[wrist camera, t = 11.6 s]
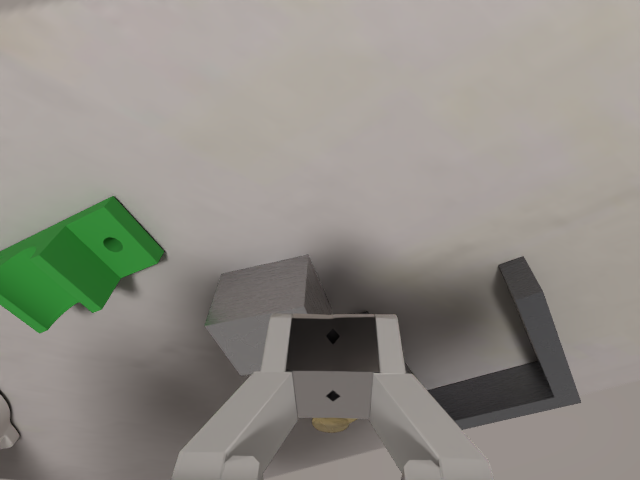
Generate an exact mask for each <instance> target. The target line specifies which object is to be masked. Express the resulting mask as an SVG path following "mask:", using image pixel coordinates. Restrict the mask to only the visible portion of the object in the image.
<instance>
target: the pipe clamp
mask: <svg viewBox="0 0 640 480" xmlns="http://www.w3.org/2000/svg"><path fill="white" fill-rule="evenodd" d="M163 253H164V251H163V250H162V248H161V247H160V246H159V245H158V244H157V243H156V242H155V241H154V240H153V239H152V238H151V237H150V235H149V234H148V233H147V232H146V231H145V230H144V229H143V228H142V227H141V226H140V225H139V224H138V222H137V221H136V220H135V219H134V218H133V217H132V216H131V215H130V214H129V213H128V212H127V211H126V209H125V208H124V207H123V206H122V205H121V204H120V203H119V202H118V201H117V200H116V199H115V198H114V196H112V197H110V198H108V199H106V200H104V201H102V202H100V203H98V204H96V205H94V206H92V207H90V208H88V209H85V210H83V211H81V212H79V213H77V214H75V215H73V216H71V217H69V218H67V219H65V220H63V221H61V222H59V223H57V224H55V225H53V226H51V227H49V228H47V229H45V230H43V231H41V232H39V233H37V234H35V235H33V236H31V237H29V238H27V239H25V240H22V241H20V242H18V243H16V244H14V245H12V246H10V247H8V248H6V249H4V250H2V251H0V305H1V306H3V307H4V308H6V309H7V310H8V311H10V312H11V313H12V314H14V315H15V316H16V317H18V318H19V319H20V320H22V321H23V322H25V323H26V324H27V325H29V326H30V327H31V328H33V329H34V330H35V331H37V332H38V333H42V332H44V331H47V330H48V329H49V328H50V327H51V325H52V324H53V323H54V322H55V321H56V320H57V319H58V318H59V317H60V316H61V315H62V314H63V313H64V312H65V311H67V310H68V309H69V308H71V307H72V306H73V305H75V304H76V303H78V302H80V303H81V304H82V305H84V306H85V307H86V308H87V309H88V310H90V311H91V312H92V313H94V312H96V311H99V310H101V309H102V308H103V307H104V305H105V304H106V302H107V300H108V299H109V297H110V295H111V294H112V292H113V290H114V289H115V287H116V286H117V284H118V282H119V281H120V279H121V278H123V277H125V276H128V275H130V274H133V273H135V272H138V271H140V270H142V269H145V268H147V267H150V266H152V265H155V264H157V263H158V262H159V260H160V258H161V257H162V255H163Z"/></svg>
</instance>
